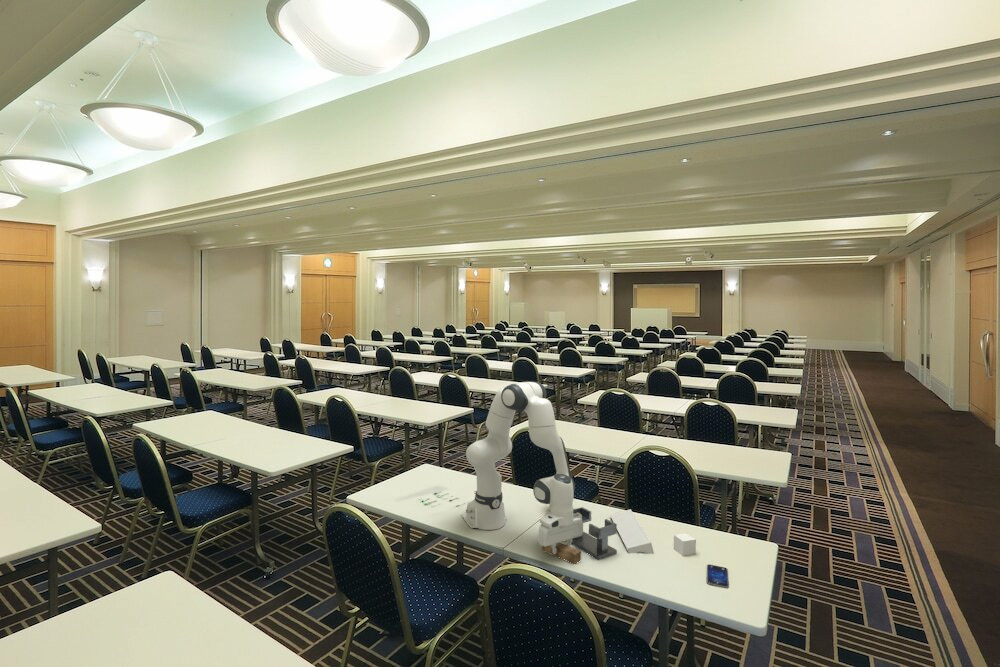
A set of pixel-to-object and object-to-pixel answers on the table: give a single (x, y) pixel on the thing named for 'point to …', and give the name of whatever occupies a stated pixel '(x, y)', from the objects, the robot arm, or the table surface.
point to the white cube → (684, 544)
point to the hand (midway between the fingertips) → (561, 551)
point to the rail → (565, 552)
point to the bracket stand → (591, 544)
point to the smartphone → (717, 576)
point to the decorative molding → (632, 532)
